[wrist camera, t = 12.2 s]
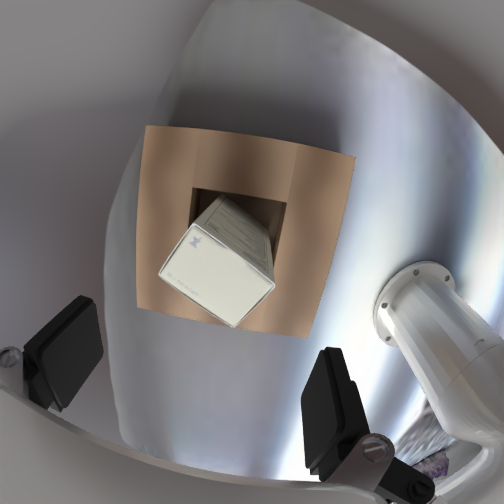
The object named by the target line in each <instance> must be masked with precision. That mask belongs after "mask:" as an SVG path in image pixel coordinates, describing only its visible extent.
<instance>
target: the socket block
mask: <svg viewBox="0 0 504 504" xmlns="http://www.w3.org/2000/svg"><path fill="white" fill-rule="evenodd" d="M355 159H356V157H353V156H349V155H345V154H341V153H337V152H333V151H329V150H325V149H321V148H316V147H312V146H307V145H303V144H298V143H293V142H288V141H283V140H277V139H272V138H266V137H260V136H254V135H247V134H240V133H233V132H225V131H216V130H207V129H196V128H184V127H169V126H147V125H146V131H145V138H144V145H143V153H142V162H141V171H140V182H139V194H138V210H137V234H136V286H137V307H139V308H143V309H147V310H151V311H156V312H160V313H164V314H169V315H173V316H178V317H182V318H187V319H192V320H197V321H202V322H207V323H212V324H217V325H223V326H228V327H230V326H229V325H227V324H225V323H224V322H222V321H221V320H219V319H218V318H216V317H215V316H213V315H211V314H210V313H209V312H207V311H206V310H204V309H203V308H201V307H200V306H198V305H197V304H196V303H194V302H192V301H191V300H190V299H188V298H187V297H185V296H184V295H183V294H181V293H180V292H179V291H177V290H176V289H174V288H173V287H172V286H171V285H169V284H168V283H167V282H166V281H164V280H163V279H162V278H161V277H160V276H159V275H158V273H159V271H160V269H161V268H162V266H163V264H164V263H165V261H166V260H167V258H168V256H169V255H170V254H171V252H172V251H173V249H174V248H175V246H176V245H177V243H178V242H179V241H180V239H181V238H182V237H183V235H184V234H185V233H186V231H187V230H188V229H189V227H190V226H191V225H192V223H193V222H194V221H195V220H196V219H197V218H198V217H199V216H200V215H201V214H202V213H203V212H204V211H205V210H206V209H207V208H208V207H209V206H210V205H211V204H212V203H213V202H214V201H215V200H216V199H217V198H218V197H219V196H220V195H221V194H224V195H225V196H226V197H228V198H229V199H230V200H232V201H233V202H234V203H236V204H237V205H238V206H240V207H241V208H242V209H243V210H245V211H246V212H247V213H248V214H250V215H251V216H252V217H253V218H255V219H256V220H257V221H258V222H259V223H261V224H262V225H263V226H264V227H265V228H266V229H268V231H269V237H270V245H271V253H272V261H273V270H274V278H275V288H274V289H273V290H272V291H271V292H270V293H269V294H268V295H267V296H266V297H265V298H264V299H263V301H262V302H261V303H260V304H258V305H257V306H256V307H255V308H254V309H253V310H252V311H251V312H250V313H249V314H248V315H247V316H246V317H245V318H244V319H243V320H242V321H241V322H240V323H239V324H238V325H237V326H236V327H234V328H240V329H246V330H252V331H259V332H265V333H272V334H279V335H287V336H294V337H303V338H308V336H309V333H310V330H311V327H312V324H313V321H314V318H315V315H316V312H317V309H318V306H319V303H320V300H321V296H322V293H323V290H324V286H325V283H326V280H327V276H328V273H329V269H330V266H331V262H332V258H333V255H334V251H335V247H336V244H337V240H338V236H339V232H340V228H341V224H342V220H343V216H344V211H345V207H346V203H347V198H348V194H349V189H350V184H351V180H352V175H353V170H354V165H355Z"/></svg>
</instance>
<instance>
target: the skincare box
mask: <svg viewBox="0 0 504 504" xmlns="http://www.w3.org/2000/svg"><path fill="white" fill-rule="evenodd" d="M158 275H159V276H160V277H161V278H162V279H163V280H164V281H166V282H167V283H168V284H169V285H171V286H172V287H173V288H174V289H176V290H177V291H179V292H180V293H181V294H183V295H184V296H185V297H187V298H188V299H190V300H191V301H192V302H194V303H196V304H197V305H198V306H200V307H201V308H203V309H204V310H206V311H207V312H209V313H210V314H211V315H213V316H215V317H216V318H218V319H219V320H221V321H222V322H224V323H225V324H227V325H229V326H230V327H232V328H234V327H236V326H237V325H238V324H239V323H240V322H241V321H242V320H243V319H244V318H245V317H246V316H247V315H248V314H249V313H250V312H251V311H252V310H253V309H254V308H255V307H256V306H257V305H258V304H260V303H261V302H262V301H263V299H264V298H265V297H266V296H267V295H268V294H269V293H270V292H271V291H272V290H273V289H274V288H275V278H274V270H273V261H272V253H271V245H270V237H269V231H268V229H266V228H265V227H264V226H263V225H262V224H261V223H259V222H258V221H257V220H256V219H255V218H253V217H252V216H251V215H250V214H248V213H247V212H246V211H245V210H243V209H242V208H241V207H240V206H238V205H237V204H236V203H234V202H233V201H232V200H230V199H229V198H228V197H226V196H225V195H224V194H221V195H220V196H219V197H218V198H217V199H216V200H215V201H214V202H213V203H212V204H211V205H210V206H209V207H208V208H207V209H206V210H205V211H204V212H203V213H202V214H201V215H200V216H199V217H198V218H197V219H196V220H195V221H194V222H193V223H192V225H191V226H190V227H189V229H188V230H187V231H186V233H185V234H184V235H183V237H182V238H181V239H180V241H179V242H178V243H177V245H176V246H175V248H174V249H173V251H172V252H171V254H170V255H169V256H168V258H167V260H166V261H165V263H164V264H163V266H162V268H161V269H160V271H159V273H158Z"/></svg>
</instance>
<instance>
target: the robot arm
mask: <svg viewBox="0 0 504 504" xmlns="http://www.w3.org/2000/svg"><path fill="white" fill-rule="evenodd" d="M373 321H374V327H375V329H376V332H377V334H378V335H379V337H380V339H381V340H382V341H383V342H384V343H386V344H387V345H389V346H392V347H396V348H400V349H401V351H402V353H403V355H404V356H405V358H406V360H407V362H408V364H409V365H410V367H411V369H412V371H413V373H414V374H415V376H416V378H417V380H418V382H419V384H420V386H421V387H422V389H423V391H424V393H425V395H426V397H427V399H428V401H429V403H430V405H431V407H432V409H433V411H434V413H435V415H436V417H437V419H438V421H439V423H440V425H441V426H442V428H443V429H444V431H445V432H446V433H447V434H448V435H450V436H451V437H453V438H456V439H459V440H463V441H469V442H474V443H478V444H479V445H481V446H482V450H481V452H480V453H479V454H478V455H477V456H476V457H475V458H474V459H472V460H471V461H470V462H469V463H468V464H467V465H466V466H464V467H463V468H462V469H460V470H459V471H458V472H456V473H455V474H453V475H452V476H451V477H449V478H448V479H446V480H445V481H443V482H442V483H440V484H439V485H437V486H436V487H435V485H434V482H433V481H432V479H431V478H430V477H428V476H427V475H425V474H423V473H421V472H420V471H418V470H416V469H414V468H413V467H411V466H409V465H407V464H406V463H404V462H402V461H401V460H399V459H397V458H396V457H394V455H395V448H394V445H393V443H392V442H391V440H390V439H389V438H387V437H386V436H384V435H381V434H378V433H371V434H370V430H369V426H368V423H367V419H366V416H365V412H364V408H363V405H362V402H361V398H360V395H359V391H358V388H357V385H356V383H355V382H354V381H351V380H350V376H349V373H348V370H347V366H346V363H345V360H344V357H343V353H342V350H341V349H340V348H333V347H326V348H325V350H321V351H320V352H319V355H318V357H317V360H316V362H315V365H314V367H313V369H312V372H311V374H310V377H309V379H308V381H307V384H306V386H305V388H304V390H303V393H302V396H301V410H302V422H303V436H304V451H305V466H306V468H310V475H319V480H320V481H321V482H311V481H290V480H273V479H262V478H253V477H244V476H236V475H230V474H223V473H217V472H212V471H207V470H202V469H197V468H193V467H188V466H184V465H180V464H176V463H172V462H169V461H165V460H162V459H158V458H155V457H152V456H149V455H146V454H142V453H140V452H137V451H133V450H131V449H128V448H125V447H123V446H120V445H118V444H115V443H113V442H110V441H108V440H105V439H103V438H101V437H98V436H96V435H94V434H92V433H90V432H87V431H85V430H83V429H81V428H79V427H77V426H75V425H73V424H71V423H69V422H67V421H65V420H64V419H62V418H60V417H58V416H56V415H55V414H53V413H51V412H49V411H48V408H49V406H51V408H53V409H55V410H57V411H58V412H61V411H62V410H63V408H66V407H68V405H69V404H70V402H71V401H72V399H73V398H74V396H75V395H76V393H77V392H78V391H79V389H80V388H81V386H82V385H83V383H84V382H85V380H86V379H87V378H88V376H89V375H90V374H91V372H92V371H93V369H94V368H95V367H96V365H97V364H98V362H99V361H100V360H101V358H102V356H103V352H104V351H103V345H102V340H101V334H100V329H99V323H98V316H97V309H96V304H95V303H94V302H93V300H92V299H91V298H88V297H85V296H82V295H80V296H78V297H77V298H76V299H75V300H73V301H72V302H71V303H70V304H69V305H68V306H67V307H65V308H64V309H63V310H62V311H61V312H60V313H59V314H57V315H56V316H55V317H54V318H53V319H52V320H51V321H50V322H49V323H47V324H46V325H45V326H44V327H43V328H42V329H41V330H40V331H39V332H38V333H37V334H36V335H35V336H34V337H33V338H32V339H30V340H29V341H28V342H27V343H26V344H25V345H24V351H23V352H21V350H20V349H19V348H17V347H14V346H8V347H4V348H2V349H1V350H0V504H504V340H503V339H502V338H501V337H500V336H499V335H498V334H497V333H496V332H495V330H494V329H493V328H492V327H491V326H490V325H489V324H488V323H487V322H486V321H485V320H484V319H483V318H482V317H481V316H480V315H479V314H478V313H477V312H475V311H474V310H473V309H472V308H471V307H470V306H469V305H468V304H467V303H466V302H465V301H464V300H463V299H462V298H461V297H459V296H458V295H457V294H456V293H455V283H454V280H453V277H452V275H451V274H450V272H449V271H448V270H447V269H446V268H445V267H443V266H442V265H440V264H439V263H437V262H433V261H421V262H417V263H413V264H411V265H409V266H407V267H405V268H404V269H402V270H401V271H399V272H398V273H397V274H396V275H395V276H394V277H392V278H391V279H390V281H389V282H388V283H387V284H386V285H385V287H384V288H383V290H382V292H381V293H380V295H379V297H378V300H377V302H376V305H375V309H374V316H373Z"/></svg>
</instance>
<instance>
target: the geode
mask: <svg viewBox="0 0 504 504" xmlns="http://www.w3.org/2000/svg"><path fill="white" fill-rule="evenodd" d="M448 465H449V459H448V458H447V457H446V453H445V451H444V449H442V450H440V451H438V452H436V453H434V454H432V455H430V456H428V457H427V458H426V459H424V460H423V461H421V462H419V463H418V464H416V465H414V466H413V468H414V469H416V470H418V471H420V472H421V473H423V474H425V475H427V476H428V477H430V478H431V479H432V480H433V478H434V477H435V478H438V477H440V476H446V475H447V470H448Z"/></svg>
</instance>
